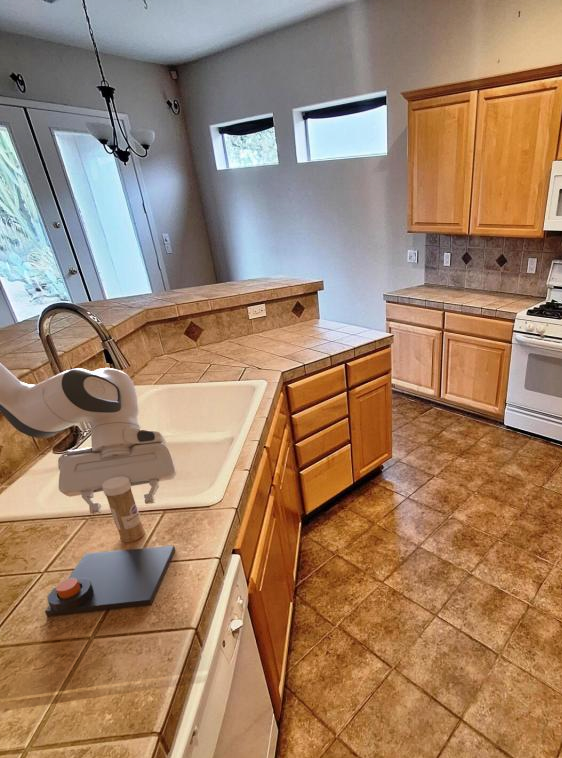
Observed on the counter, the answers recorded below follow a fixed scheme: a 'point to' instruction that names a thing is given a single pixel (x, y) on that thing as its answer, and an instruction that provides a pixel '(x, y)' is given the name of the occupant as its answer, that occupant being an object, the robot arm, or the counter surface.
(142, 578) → the scale
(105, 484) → the sprinkles bottle
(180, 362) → the counter surface
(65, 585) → the button
